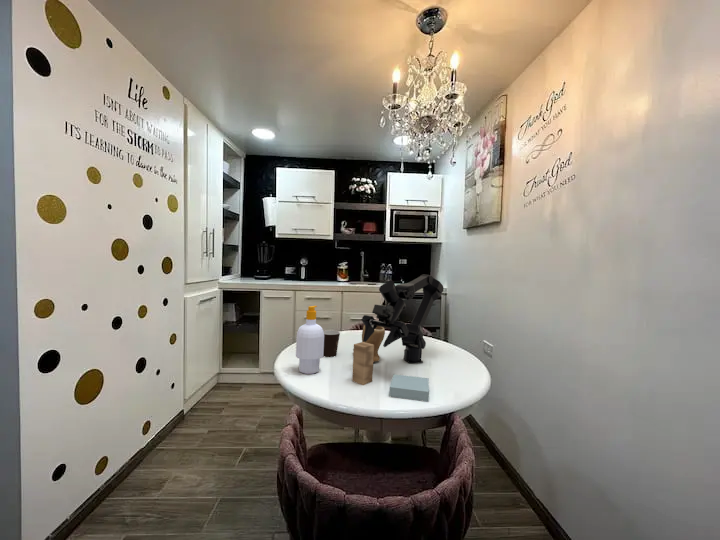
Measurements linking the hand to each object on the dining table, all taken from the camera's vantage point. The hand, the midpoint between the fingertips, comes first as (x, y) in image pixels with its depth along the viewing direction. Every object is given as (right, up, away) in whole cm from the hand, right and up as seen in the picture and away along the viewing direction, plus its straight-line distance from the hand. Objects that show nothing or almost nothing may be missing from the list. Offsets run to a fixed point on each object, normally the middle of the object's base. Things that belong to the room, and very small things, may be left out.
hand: (373, 343), depth 118 cm
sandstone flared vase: (-1, -12, +23) cm, 26 cm away
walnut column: (-4, -12, -4) cm, 14 cm away
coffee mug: (-18, -11, +27) cm, 34 cm away
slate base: (+11, -13, -11) cm, 20 cm away
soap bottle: (-24, -11, +4) cm, 27 cm away
